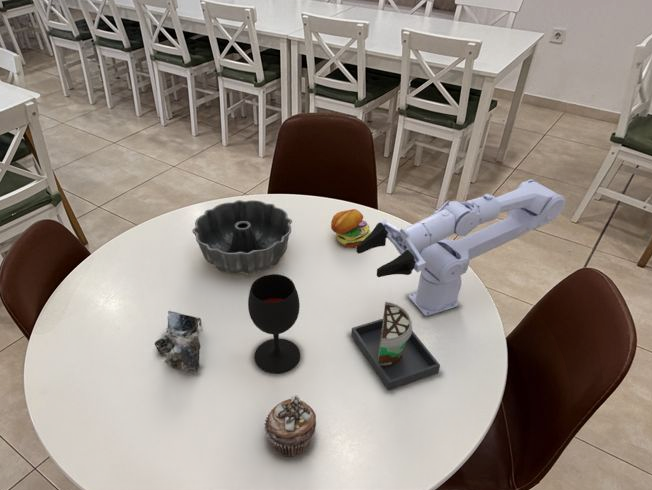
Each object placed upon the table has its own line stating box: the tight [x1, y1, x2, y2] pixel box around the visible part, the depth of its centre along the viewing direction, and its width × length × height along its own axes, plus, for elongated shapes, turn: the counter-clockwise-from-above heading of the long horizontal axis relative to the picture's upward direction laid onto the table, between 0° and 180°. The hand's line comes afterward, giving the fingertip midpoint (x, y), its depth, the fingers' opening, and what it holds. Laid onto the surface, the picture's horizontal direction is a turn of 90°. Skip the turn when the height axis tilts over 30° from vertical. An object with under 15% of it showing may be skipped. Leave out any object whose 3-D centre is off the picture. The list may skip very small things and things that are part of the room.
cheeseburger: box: [330, 208, 371, 248], centre depth 140 cm, size 10×11×10 cm
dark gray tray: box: [350, 318, 441, 392], centre depth 110 cm, size 12×17×3 cm
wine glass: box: [247, 273, 301, 375], centre depth 104 cm, size 10×10×20 cm
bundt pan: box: [192, 199, 293, 276], centre depth 135 cm, size 26×26×10 cm
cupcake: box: [263, 394, 317, 458], centre depth 92 cm, size 10×10×10 cm
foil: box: [154, 310, 204, 373], centre depth 111 cm, size 12×11×15 cm
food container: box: [378, 301, 413, 368], centre depth 107 cm, size 12×6×10 cm, turn 168°
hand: (367, 261), depth 102 cm, fingers open, 7 cm apart
